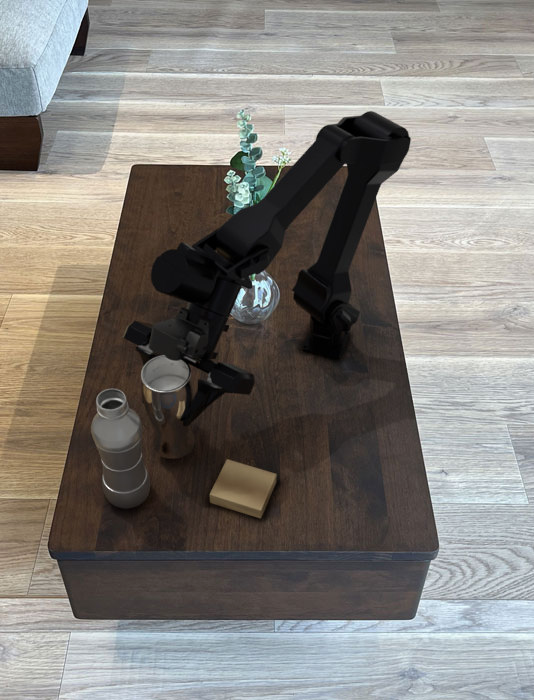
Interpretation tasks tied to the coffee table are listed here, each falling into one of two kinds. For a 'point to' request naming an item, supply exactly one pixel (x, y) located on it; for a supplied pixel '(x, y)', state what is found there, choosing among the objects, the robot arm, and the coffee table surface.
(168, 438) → the metal cup
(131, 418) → the plastic bottle
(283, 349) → the coffee table surface
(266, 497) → the wooden block
